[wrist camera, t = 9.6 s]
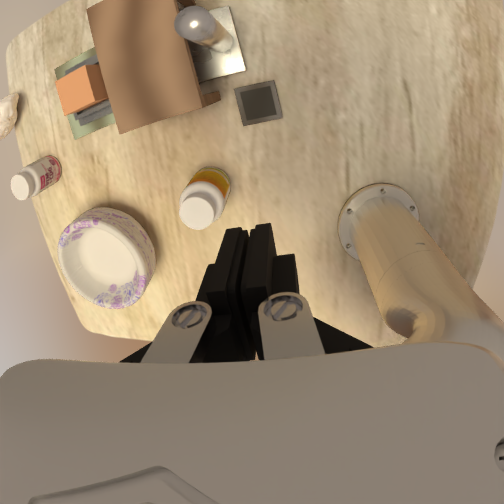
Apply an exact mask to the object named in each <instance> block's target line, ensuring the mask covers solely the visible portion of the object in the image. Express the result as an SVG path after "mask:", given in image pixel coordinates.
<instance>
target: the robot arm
mask: <svg viewBox="0 0 504 504" xmlns="http://www.w3.org/2000/svg"><path fill="white" fill-rule="evenodd" d="M382 188H383V189H382ZM381 189H382V190H381ZM410 206H411V207H410ZM349 208H350V210H347V209H349ZM338 234H339V238H340V241H341V244H342V246H343V247H344V249H345V250H346V252H347V253H348V254H349V255H350V256H352V257H353V258H354V259H356V260H358V261H360V262H361V265H362V267H363V270H364V272H365V275H366V277H367V280H368V283H369V285H370V288H371V290H372V293H373V296H374V298H375V301H376V304H377V306H378V309H379V312H380V314H381V316H382V318H383V320H384V321H385V323H386V324H387V325H388V326H389V327H390V328H391V329H392V330H393V331H395V332H396V333H398V334H400V335H402V336H404V337H406V338H408V339H407V340H406V341H404V342H403V343H402V344H398V345H392V346H384V347H377V348H374V347H372V346H370V345H368V344H366V343H364V342H362V341H360V340H358V339H356V338H354V337H352V336H350V335H348V334H346V333H344V332H342V331H340V330H338V329H336V328H334V327H332V326H330V325H328V324H326V323H324V322H322V321H320V320H318V319H316V318H314V317H313V316H312V313H311V310H310V307H309V304H308V302H307V300H306V299H305V297H303V296H302V295H300V294H299V284H298V275H297V268H296V261H295V255H294V254H287V255H279V256H277V254H276V248H275V243H274V237H273V232H272V226H271V223H266V224H259V225H256V227H255V229H251V231H250V237H249V235H248V231H247V230H242V228H241V227H238V228H231V229H226V232H225V235H224V238H223V241H222V244H221V247H220V250H219V253H218V256H217V259H216V262H215V264H209V265H208V267H207V269H206V272H205V275H204V278H203V281H202V283H201V286H200V289H199V292H198V295H197V298H196V301H192V302H188V303H184V304H182V305H180V306H178V307H177V308H175V309H174V310H173V311H172V312H171V313H170V314H169V316H168V317H167V319H166V321H165V322H164V324H163V325H162V327H161V329H160V330H159V332H158V334H157V335H156V337H155V339H154V340H153V342H151V343H149V344H148V345H146V346H145V347H143V348H141V349H140V350H138V351H136V352H135V353H133V354H132V355H130V356H128V357H127V358H125V359H123V360H122V361H120V362H119V363H117V362H95V361H80V360H61V359H38V360H32V361H26V362H23V363H20V364H17V365H15V366H13V367H11V368H9V369H8V370H7V371H6V372H5V373H4V374H3V375H2V376H1V377H0V504H504V323H503V322H502V320H501V319H500V318H498V316H497V315H496V314H495V313H494V312H493V311H492V310H491V309H490V308H489V307H488V306H487V305H486V304H485V303H484V302H483V301H482V300H481V299H480V298H479V297H478V295H477V294H476V293H475V292H474V291H473V290H472V289H471V288H470V286H469V285H468V284H467V283H466V281H465V280H464V279H463V277H462V276H461V275H460V274H459V272H458V271H457V270H456V269H455V267H454V266H453V265H452V263H451V262H450V261H449V259H448V258H447V257H446V255H445V254H444V253H443V251H442V250H441V249H440V248H439V246H438V245H437V244H436V243H435V241H434V240H433V239H432V237H431V236H430V235H429V234H428V233H427V231H426V230H425V229H424V228H423V226H422V225H421V224H420V223H419V212H418V209H417V206H416V204H415V202H414V200H413V199H412V198H411V197H410V195H409V194H408V193H406V192H405V191H404V190H403V189H401V188H399V187H397V186H394V185H391V184H384V183H383V184H374V185H370V186H367V187H365V188H363V189H361V190H359V191H358V192H356V193H355V194H354V195H353V196H352V197H351V198H350V199H349V200H348V201H347V202H346V204H345V205H344V207H343V208H342V211H341V213H340V216H339V221H338ZM348 243H349V244H348ZM256 352H257V355H258V359H259V361H250V360H255V355H256Z"/></svg>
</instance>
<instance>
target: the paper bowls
mask: <svg viewBox="0 0 504 504" xmlns="http://www.w3.org/2000/svg"><path fill="white" fill-rule="evenodd" d="M58 260H59V264H60V267H61V270H62V272H63V274H64V276H65V278H66V279H67V281H68V282H69V284H70V285H71V286H72V287H73V288H74V290H75V291H76V292H78V293H79V294H80V295H81V296H82V297H84V298H85V299H87V300H88V301H90V302H92V303H94V304H96V305H98V306H101V307H105V308H111V309H120V308H125V307H128V306H130V305H132V304H134V303H135V302H136V301H138V300H139V299H140V298H141V296H142V295H143V294H144V292H145V290H146V288H147V286H148V284H149V282H150V280H151V278H152V276H153V273H154V270H155V266H156V256H155V251H154V246H153V244H152V241H151V239H150V238H149V236H148V234H147V232H146V231H145V230H144V228H143V227H142V226H141V225H140V224H139V223H138V222H137V221H136V220H135V219H134V218H132V217H131V216H130V215H128V214H126V213H124V212H123V211H120V210H116V209H112V208H108V207H102V208H100V207H98V208H94V209H90V210H88V211H86V212H85V213H83V214H82V215H80V216H79V217H78V218H77V219H75V220H74V221H73V222H72V223H71V224H70V225H68V226H67V227H66V228H65V230H64V231H63V233H62V234H61V236H60V239H59V243H58Z"/></svg>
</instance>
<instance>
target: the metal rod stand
mask: <svg viewBox="0 0 504 504" xmlns="http://www.w3.org/2000/svg"><path fill="white" fill-rule="evenodd" d="M174 28H175V31H176V32H177V34H178V35H180V36H181V37H183V38H185V39H187V42H188V45H189V49H190V53H191V56H192V60H193V64H194V68H195V71H196V75H197V79H198V82H203V81H206V80H210V79H214V78H217V77H221V76H225V75H229V74H233V73H238V72H242V71H246V68H245V64H244V60H243V56H242V52H241V49H240V45H239V41H238V37H237V34H236V30H235V26H234V22H233V19H232V15H231V11H230V8H229V6H225V7H221V8H217V9H213V10H210V11H207V10H206V9H205V8H203V7H200V6H189V7H186V8H184V9H183V10H181V11H180V12H179V13H178V14H177V16H176V18H175V21H174ZM84 65H99V61H98V57H97V54H96V55H94V56H92V57H90V58H88V59H86V60H84V61H82V62H80V63H79V64H77V65H75V66H73V67H71V68H70V69H68V70H66V71H65V76H66V75H68V74H69V73H71V72H73V71H75V70H77V69H78V68H80V67H82V66H84ZM63 77H64V76H63ZM111 113H113V111H112V108H111V104H110V101H109V99H108V100H105V101H103V102H101V103H99V104H96V105H94V106H92V107H90V108H88V109H86V110H83V111H80V112H76V113H73V114H74V118H75V121H76V120H79V124H80V126H83V125H85V124H88V123H90V122H92V121H94V120H97V119H99V118H101V117H103V116H106V115H108V114H111Z"/></svg>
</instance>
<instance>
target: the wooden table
mask: <svg viewBox="0 0 504 504" xmlns="http://www.w3.org/2000/svg"><path fill="white" fill-rule="evenodd" d="M177 1H178V2H180V3H181V4H182V5H184V6H185V7H189V6H193V5H195V1H194V0H103V1H101V2H99V3H97V4H95V5H94V6H92V7H90V8H88V9H86V10H87V15H88V19H89V24H90V28H91V33H92V37H93V41H94V45H95V47H94V48H92V49H90V50H88V51H86V52H84V53H82V54H80V55H79V56H77V57H75V58H73V59H71V60H70V61H68V62H66V63H65V64H63V65H61V66H60V67H58V68H56V69H55V73H56V77H57V80H59V79H61V78H62V77H63V76H65V71H66V70H68V69H70V68H71V67H73V66H75V65H77V64H79V63H80V62H82V61H84V60H86V59H88V58H90V57H92V56H94V55H96V54H97V57H98V61H99V65H100V69H101V73H102V76H103V80H104V84H105V87H106V91H107V94H108V98H109V101H110V104H111V108H112V111H113V113H111V114H108V115H106V116H103V117H101V118H99V119H97V120H94V121H92V122H90V123H88V124H85V125H83V126H80V124H79V120H76V121H75V118H74V114H69V115H67V117H68V120H69V123H70V126H71V130H72V133H73V136H74V139H75V140H76V139H78V138H80V137H82V136H85V135H87V134H89V133H91V132H94V131H96V130H98V129H101V128H103V127H106V126H108V125H110V124H113V123H115V122H116V124H117V127H118V130H119V134H123V133H125V132H128V131H131V130H134V129H136V128H139V127H142V126H145V125H148V124H151V123H154V122H157V121H160V120H163V119H166V118H169V117H173V116H176V115H179V114H183V113H186V112H189V111H193V110H196V109H200V108H203V107H206V106H208V105H210V104H212V103H215V102H217V101H219V100H221V98H220V94H219V91H217V92H213V93H209V94H205V95H202V94H201V90H200V86H199V82H198V79H197V75H196V71H195V68H194V64H193V60H192V56H191V53H190V49H189V45H188V42H187V39H185V38H183V37H181V36H180V35H178V34H177V32H176V31H175V28H174V21H175V18H176V16H177V14H178V13H179V8H178V4H177ZM234 91H235V95H236V99H237V103H238V107H239V111H240V115H241V119H242V123H243V126H246V125H251V124H256V123H261V122H266V121H271V120H276V119H281V118H282V113H281V109H280V104H279V100H278V95H277V91H276V87H275V83H274V80H273V81H268V82H263V83H258V84H254V85H249V86H244V87H240V88H236V89H234Z"/></svg>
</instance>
